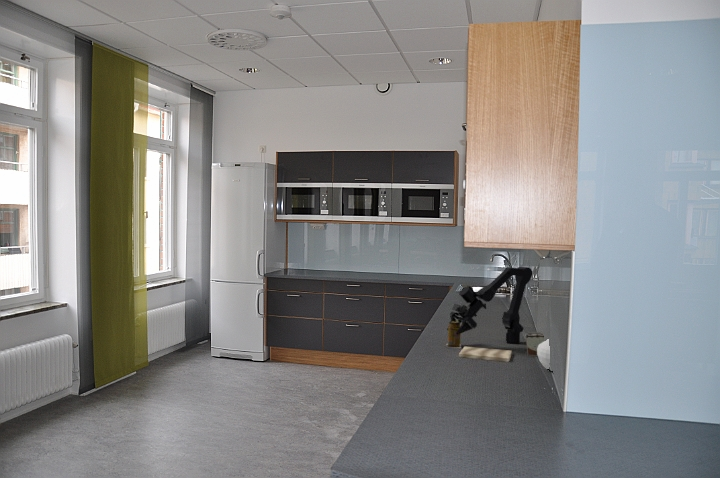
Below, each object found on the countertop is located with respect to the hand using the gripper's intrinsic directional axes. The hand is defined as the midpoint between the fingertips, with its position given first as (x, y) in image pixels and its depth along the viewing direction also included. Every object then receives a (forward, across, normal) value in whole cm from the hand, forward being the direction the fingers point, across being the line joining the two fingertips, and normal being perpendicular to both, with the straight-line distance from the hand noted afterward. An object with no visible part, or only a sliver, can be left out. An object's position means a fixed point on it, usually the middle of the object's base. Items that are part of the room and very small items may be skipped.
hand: (451, 332), depth 274 cm
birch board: (0, +21, +10) cm, 23 cm away
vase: (-11, +51, +21) cm, 57 cm away
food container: (-17, +25, +27) cm, 41 cm away
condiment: (+4, 0, +6) cm, 7 cm away
